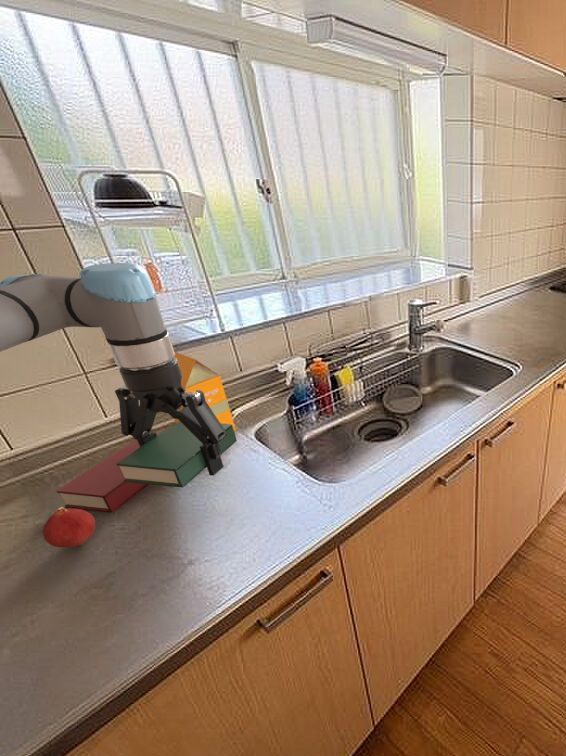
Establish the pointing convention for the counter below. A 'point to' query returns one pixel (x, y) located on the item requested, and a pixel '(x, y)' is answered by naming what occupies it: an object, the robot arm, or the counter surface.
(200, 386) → the orange juice
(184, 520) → the counter surface
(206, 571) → the counter surface
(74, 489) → the burgundy book
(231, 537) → the counter surface
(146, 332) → the robot arm
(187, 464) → the green book
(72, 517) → the pomegranate
